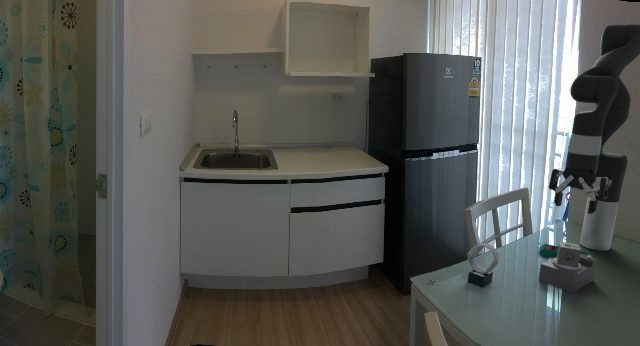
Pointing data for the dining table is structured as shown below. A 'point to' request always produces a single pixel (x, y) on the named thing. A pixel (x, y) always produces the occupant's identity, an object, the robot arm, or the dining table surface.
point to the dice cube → (568, 254)
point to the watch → (479, 274)
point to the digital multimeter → (553, 251)
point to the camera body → (568, 273)
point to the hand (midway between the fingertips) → (573, 209)
